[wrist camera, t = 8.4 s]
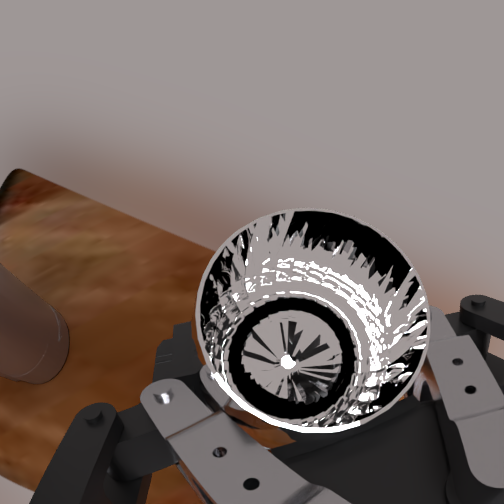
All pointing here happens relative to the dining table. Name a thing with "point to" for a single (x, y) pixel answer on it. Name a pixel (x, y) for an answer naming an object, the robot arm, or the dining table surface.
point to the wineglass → (308, 326)
